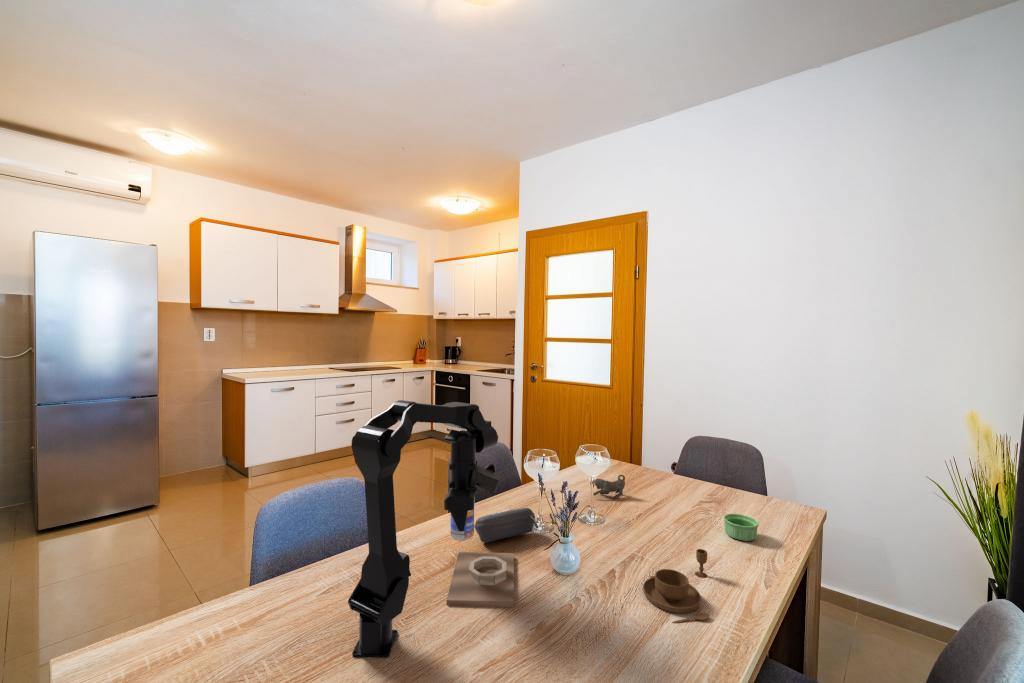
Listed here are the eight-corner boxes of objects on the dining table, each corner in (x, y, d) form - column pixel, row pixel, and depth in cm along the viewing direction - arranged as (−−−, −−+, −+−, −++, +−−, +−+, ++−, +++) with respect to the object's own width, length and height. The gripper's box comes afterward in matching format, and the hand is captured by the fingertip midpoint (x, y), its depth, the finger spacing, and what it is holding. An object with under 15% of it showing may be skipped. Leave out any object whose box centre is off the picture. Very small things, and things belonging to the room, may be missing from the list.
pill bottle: (470, 542, 98) (470, 499, 97) (447, 540, 99) (447, 497, 98) (476, 531, 103) (477, 490, 103) (454, 529, 104) (454, 488, 104)
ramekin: (727, 539, 124) (727, 524, 124) (720, 526, 133) (720, 511, 133) (762, 544, 122) (762, 528, 122) (752, 530, 130) (753, 515, 130)
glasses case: (524, 526, 130) (525, 500, 130) (543, 541, 121) (544, 513, 121) (468, 538, 122) (468, 510, 121) (484, 556, 112) (484, 526, 112)
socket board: (513, 607, 92) (513, 592, 92) (446, 605, 92) (446, 590, 92) (513, 557, 112) (513, 545, 112) (458, 556, 112) (458, 544, 112)
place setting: (626, 579, 104) (627, 554, 104) (701, 570, 108) (701, 546, 108) (669, 628, 87) (669, 599, 87) (755, 615, 91) (756, 587, 91)
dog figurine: (621, 492, 159) (622, 472, 159) (627, 498, 153) (627, 477, 153) (589, 493, 158) (589, 472, 158) (593, 499, 152) (594, 478, 152)
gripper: (498, 471, 91) (497, 545, 92) (498, 446, 110) (498, 508, 110) (444, 471, 91) (443, 545, 91) (454, 446, 110) (453, 508, 110)
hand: (462, 525), depth 101 cm, fingers closed on pill bottle, 5 cm apart
